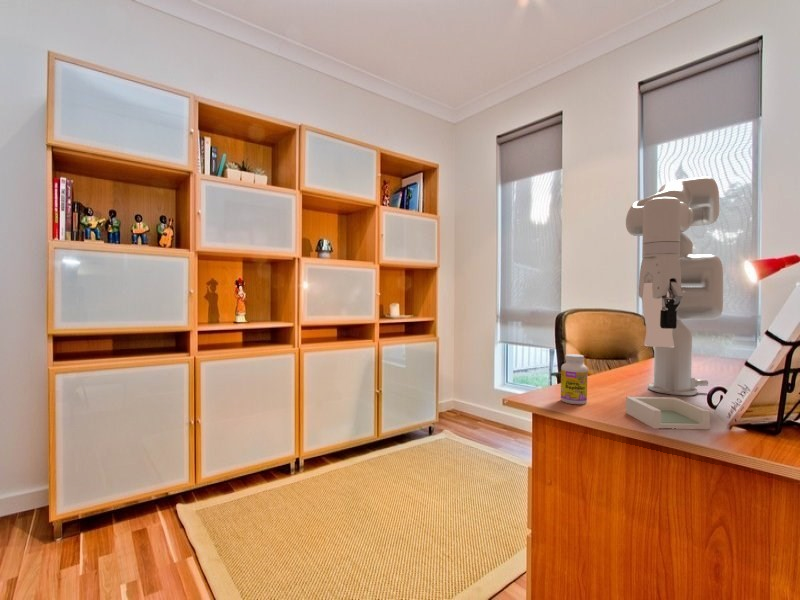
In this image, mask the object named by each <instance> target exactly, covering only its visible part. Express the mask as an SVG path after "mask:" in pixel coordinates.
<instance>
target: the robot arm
mask: <svg viewBox="0 0 800 600" xmlns="http://www.w3.org/2000/svg"><path fill="white" fill-rule="evenodd" d="M719 215H720V192H719V186H718V184H717V182H716V180H715V179H713V178H712V177H710V176H701V177H693V178H686V179H678V180H677V179H676V180H671V181H670V182H667V183H665V184H663V185H662V186H661V187H660V188H659V190H658V191H657V193H655V194H652V195H650V196H648V197H645V198H642V199H639V200H637V201H635V202H633V204H632V205H631V206H630V207H629V209H628V212H627V214H626V218H625V227H626V230H627V232H628V234H630V235H631V236H635V237H642V246H641V247H642V253H641V255H642V256H641V257H642V260H641V263H640V269H639V278H638V279H639V280H638V297H639V298H640V299H641V300H642V299H643V288H644V283H652V292H653V298H655V299H660V298H661V297H662V308H663V311H661V328H665V329H673V330H672V335H673V341H674V347H672V348H660V347H653V348H654V351H653V352H654V354H653V357H654V358H653V362H654V363H653V366H654V367H653V382H651V383H648V385H647V388H648V390H651V391H653V392H656V393H661V394H666V395H674V396H695V395H698V393H699V391H698V389H697V388H696V387H698V386H699V387H708V386H709V381H708V379H698V378H696V377H694V376H692V359H693V358H692V357H693V355H692V352H693V351H692V349H693V346H692V345H693V335H692V332H691V330H690V329H689V328H688V327H687V325H686V324H684V322H683V321H682V320H700V321H701V320H702V321H706V320H708V321H710V320H712V321H713V320H716V319H718V318H719V317H721V316H722V312H723V308H724V268H723V263H722V261H721V259H720V258H719V257H718V256H717V255H715V254H693V249H694V248H693V247H694V244H693V241H692V240H691V238H690V237H688V235H686V234H685V233H684V232H686V231H687V230H688V229H689V228H691V227H698V226H707V225H708V226H709V225H713V224H714V223H715V222H717V220H718V218H719ZM668 290H669V291H670V293H671V294H673V297H665V295H666V294H667V292H668ZM666 300H669V302H668V304H667V301H666ZM643 325H644V327H646V324H645V318H644V317H643Z"/></svg>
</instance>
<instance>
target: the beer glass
mask: <svg viewBox="0 0 800 600" xmlns="http://www.w3.org/2000/svg"><path fill="white" fill-rule="evenodd" d="M665 297H673V294H671V293H670V291H669V290H668V292H667V294H666V295H665ZM641 301H642V302H641V303H642V311H643V312H642V313H643V319H644V318H645V324H646V326H645V330H646V331H645V338H644V341H643V345H644V346H645V347H649V348H650V347H651V348H654V347H660V348H672V347H674V341H673V335H672V330H673V329H665V328H661V311H663V308H662V297H661V298H660V299H655V298H653V292H652V283H644V288H643V299H641ZM666 301H667V304H668V302H669V300H666Z"/></svg>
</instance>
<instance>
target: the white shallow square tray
mask: <svg viewBox="0 0 800 600" xmlns="http://www.w3.org/2000/svg"><path fill="white" fill-rule="evenodd" d="M625 413H626V414H627V415H629V416H631V417H633V418H634V419H637V420H638V421H640V422H641V423H643V424H645V425H647V426H649V427H650V428H652V429H654V430H655V429H656V430H657V429H659V428H672V429H671V430H710V429H711V427H710V426H711V425H710V424H711V410H708V409H705V408H703V407H700V406H698V405H695V404H693V403H691V402H688V401H686V400H683V399H680V398H678V397H674V396H673V397H672V396H671V397H670V396H668V397H667V396H662V397H661V396H625ZM674 428H676V429H674ZM659 430H660V429H659Z"/></svg>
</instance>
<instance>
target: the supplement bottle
mask: <svg viewBox="0 0 800 600" xmlns="http://www.w3.org/2000/svg"><path fill="white" fill-rule="evenodd" d="M564 358H565V363H563V364H562V365H561V366H560V367H561V369H560V374H561V375H560V400H561V401H562V402H564V403H565V404H569V405H585V404H586V403H587V401H588V367H587V365H585V364H584V360H585V356H584V355H583V354H578V353H577V354H576V353H568V354H565V355H564Z"/></svg>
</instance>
